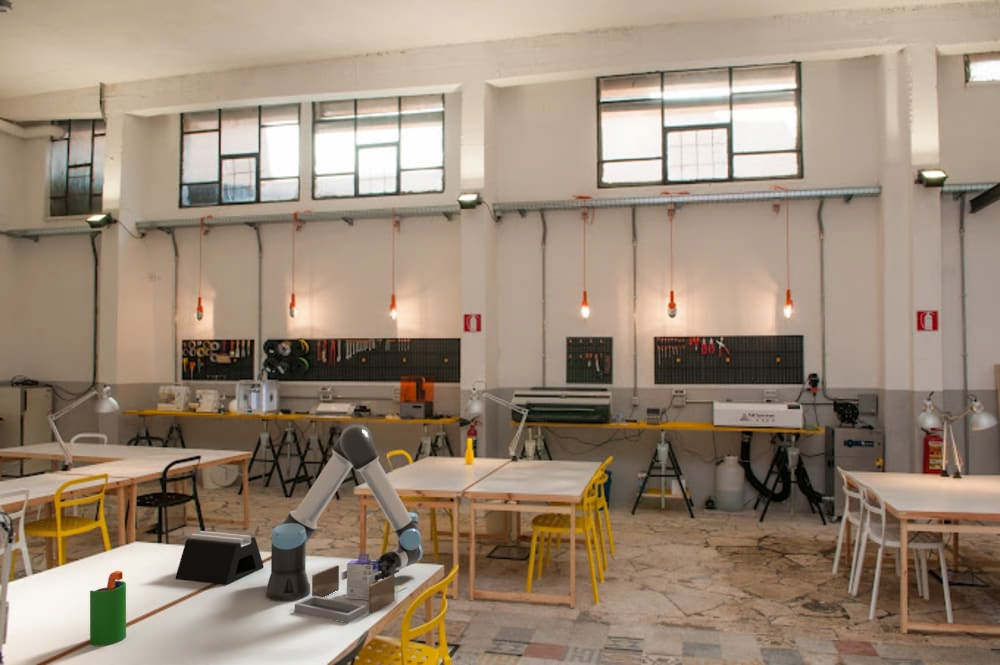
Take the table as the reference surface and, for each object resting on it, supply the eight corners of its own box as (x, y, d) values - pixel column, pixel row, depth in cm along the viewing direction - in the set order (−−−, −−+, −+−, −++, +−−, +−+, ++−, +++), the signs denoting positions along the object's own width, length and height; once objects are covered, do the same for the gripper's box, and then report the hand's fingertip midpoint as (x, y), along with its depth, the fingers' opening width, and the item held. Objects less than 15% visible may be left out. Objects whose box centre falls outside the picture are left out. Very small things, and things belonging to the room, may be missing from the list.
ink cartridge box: (378, 595, 260) (379, 553, 260) (373, 600, 255) (373, 558, 255) (352, 593, 262) (352, 552, 262) (345, 598, 257) (346, 556, 257)
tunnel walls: (311, 601, 255) (312, 575, 255) (336, 590, 266) (336, 565, 266) (371, 613, 243) (371, 586, 244) (394, 601, 255) (394, 575, 255)
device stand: (215, 563, 300) (215, 525, 300) (263, 568, 293) (263, 530, 293) (175, 580, 278) (176, 539, 278) (226, 586, 271) (226, 544, 272)
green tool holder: (101, 632, 226) (102, 566, 227) (131, 632, 227) (132, 566, 227) (85, 646, 216) (86, 577, 217) (117, 645, 217) (118, 576, 217)
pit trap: (294, 611, 245) (294, 604, 245) (313, 602, 253) (313, 595, 253) (348, 623, 235) (348, 615, 235) (366, 613, 243) (366, 606, 243)
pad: (350, 590, 266) (350, 589, 266) (370, 581, 277) (370, 580, 277) (387, 597, 259) (387, 596, 259) (406, 587, 269) (406, 587, 269)
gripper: (418, 576, 269) (382, 594, 250) (367, 567, 280) (328, 584, 260) (419, 555, 269) (382, 571, 250) (367, 547, 280) (328, 562, 260)
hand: (355, 578), depth 255 cm, fingers closed on ink cartridge box, 10 cm apart
